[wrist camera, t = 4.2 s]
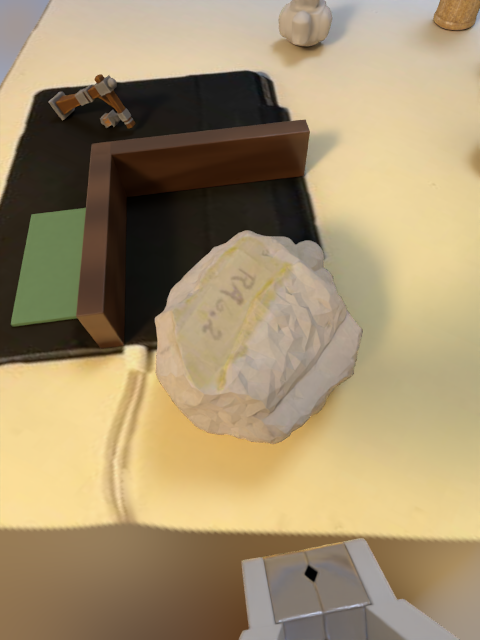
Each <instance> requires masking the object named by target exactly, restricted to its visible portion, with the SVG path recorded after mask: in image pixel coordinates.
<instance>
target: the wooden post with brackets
mask: <svg viewBox="0 0 480 640" xmlns="http://www.w3.org/2000/svg"><path fill="white" fill-rule="evenodd" d="M95 81H96V82H97V83H96V84H95V85H94V86H92V85H89V86H88V87H87V88H85V89H83V90H80V91H79V92H78V93H77V94H73V95H68V96H65V94H64V93H63V91H62V92H59V93H58V94H57V95H56V96H55V97H53V98H52V99H51V100H50V101H49V103H50V105H51V106H52V107H53V109H54V110H55V111H56V113H57V114H58V115H59V117H60V118H61V119H62V121H63V120H64V119H65V118H66V117H68V116H69V115H70V114H71V113H72V112H73V111H74V110H75V107H76V106H78V105H81V106H83V105H84V104H86V103H90V102H92V101H94V100H95V99H96V98H101V99H102V100H104V101H105V102H107V103H108V104H109V105H111V106H112V107H114V108H115V109H116V111H117V112H118V113H115V112H114V110H112V111H111V112H110V113H109V114H107V113H105V114H104V115H103V116H102V117H101V118H100V119H101V123H102V124H103V125H105V127H106V128H108V127H109V126H111V125H113V127H115V126H116V125H117V123H118V122H119V121H120V119H121V120H122V122H123V121H124V122H125V124H126V126H127V127H128V128H132V127H133V126H134V125H135V122H134V121H133V119H132V118H131V114H130V113H129V111H128V110H127V108H125V107H124V106H123V104H122V103H121V101H120V100H119V98H118V97H117V95H116V94H115V92H114V91H113V89H114V88H115V87H116V81H115V80H114V79H113V78H111V77H110V76H107V77H106V78H104V77H103V75H97V76H96V77H95ZM104 95H106V96H107V97H106V96H104Z"/></svg>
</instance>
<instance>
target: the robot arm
mask: <svg viewBox="0 0 480 640" xmlns="http://www.w3.org/2000/svg"><path fill="white" fill-rule="evenodd" d="M242 572H243V581H244V588H245V598H246V606H247V614H248V623H249V630H244V631H243V632H242V634H241V636H240V638H239V640H460V639H459V638H458V637H456V636H455V635H453V634H452V633H451V632H449V631H448V630H446V629H445V628H444V627H442V626H441V625H439V624H438V623H436V622H435V621H434V620H432V619H431V618H430V617H428V616H427V615H425V614H424V613H423V612H421V611H420V610H419V609H417V608H416V607H414V606H413V605H411V604H410V603H409V602H407V601H406V600H405V599H399V600H397V599H396V597H395V595H394V593H393V591H392V589H391V587H390V585H389V584H388V582H387V580H386V578H385V576H384V574H383V572H382V570H381V568H380V567H379V565H378V563H377V561H376V559H375V557H374V555H373V553H372V551H371V550H370V548H369V546H368V544H367V542H366V540H364V539H363V538H360V539H355V540H350V541H345V542H343V543H342V542H340V543H334V544H329V545H325V546H320V547H314V548H309V549H305V550H301V551H295V552H289V553H283V554H276V555H270V556H264V557H263V558H262V557H260V558H254V559H248V560H242Z"/></svg>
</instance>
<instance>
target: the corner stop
mask: <svg viewBox="0 0 480 640" xmlns="http://www.w3.org/2000/svg"><path fill="white" fill-rule="evenodd" d="M309 134H310V131H309V128H308V125H307V123H306V120H297V121H288V122H280V123H271V124H262V125H253V126H245V127H236V128H227V129H218V130H209V131H201V132H192V133H183V134H174V135H165V136H157V137H148V138H139V139H130V140H122V141H113V142H104V143H95V144H92V148H91V159H90V170H89V181H88V192H87V203H86V213H85V224H84V235H83V246H82V257H81V268H80V279H79V289H78V300H77V311H76V317H77V318H78V319H79V321H80V322H81V323H82V325H83V326H84V327H85V329H86V330H87V331H88V332H89V334H90V335H91V336H92V338H93V339H94V340H95V342H96V343H97V344H98V345H99V347H100V348H109V347H117V346H123V345H124V328H125V270H126V212H127V197H132V196H140V195H148V194H157V193H165V192H173V191H182V190H190V189H198V188H207V187H215V186H223V185H232V184H240V183H248V182H257V181H265V180H274V179H282V178H290V177H299V176H304V171H305V164H306V156H307V149H308V141H309Z"/></svg>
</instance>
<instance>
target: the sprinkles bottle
mask: <svg viewBox="0 0 480 640" xmlns="http://www.w3.org/2000/svg"><path fill="white" fill-rule="evenodd" d="M479 9H480V0H440V2H439V5H438V8H437V11H436V12H435V14H434V22H435V23H436V24H437V25H438V26H440V27H442V28H445V29H449V30H462V29H466V28H469V27H471V26H473V25H474V23H475V21H476V16H477V13H478V11H479Z"/></svg>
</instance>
